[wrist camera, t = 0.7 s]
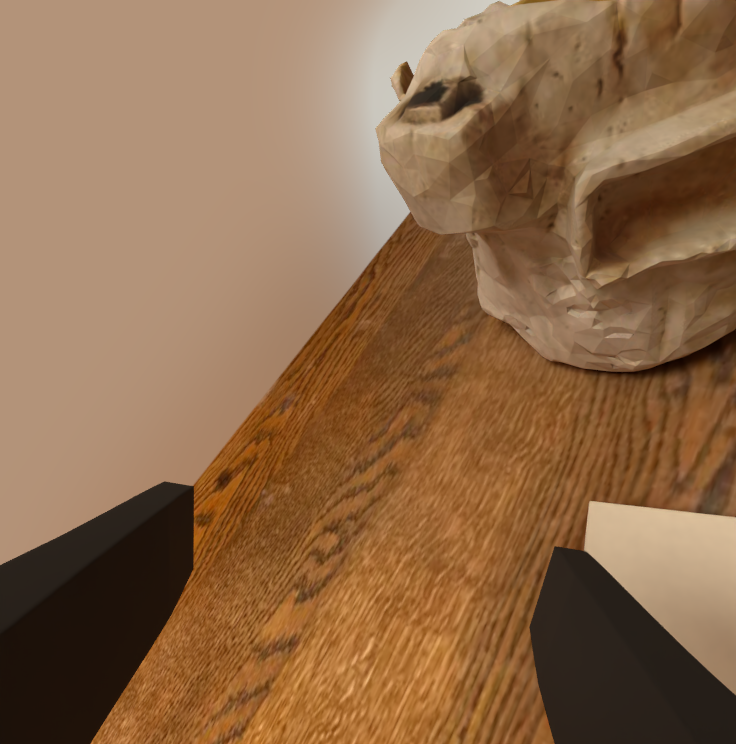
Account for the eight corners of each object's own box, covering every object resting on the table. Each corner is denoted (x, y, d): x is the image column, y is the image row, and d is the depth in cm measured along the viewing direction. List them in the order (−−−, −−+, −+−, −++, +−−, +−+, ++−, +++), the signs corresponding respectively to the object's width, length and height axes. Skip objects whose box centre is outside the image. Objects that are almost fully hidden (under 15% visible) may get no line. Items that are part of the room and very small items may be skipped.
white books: (765, 790, 16) (770, 781, 14) (569, 705, 20) (552, 689, 18) (763, 545, 20) (767, 513, 18) (602, 515, 24) (591, 486, 22)
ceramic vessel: (750, -4, 34) (1094, -820, 11) (870, 321, 31) (1712, 116, 8) (446, 137, 43) (290, -154, 20) (514, 400, 39) (420, 413, 17)
